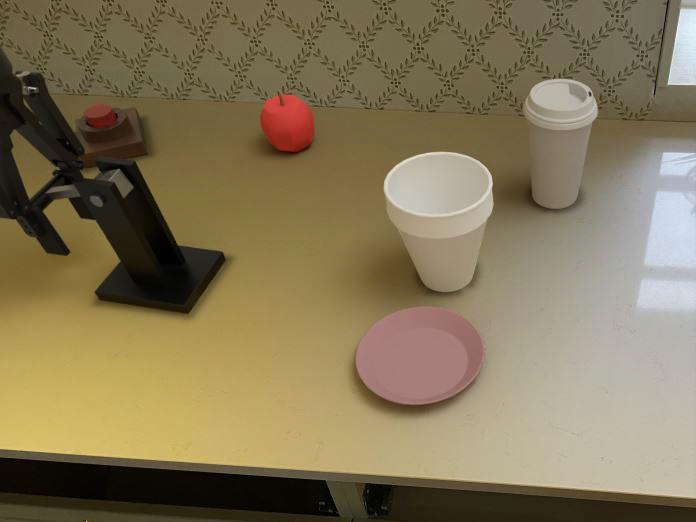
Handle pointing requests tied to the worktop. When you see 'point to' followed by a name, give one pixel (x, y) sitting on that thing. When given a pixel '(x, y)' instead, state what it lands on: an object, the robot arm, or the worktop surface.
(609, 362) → the worktop surface
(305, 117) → the apple
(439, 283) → the cup
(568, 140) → the coffee cup
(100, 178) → the lever
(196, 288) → the bracket
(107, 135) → the button block
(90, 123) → the button
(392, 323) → the plate
